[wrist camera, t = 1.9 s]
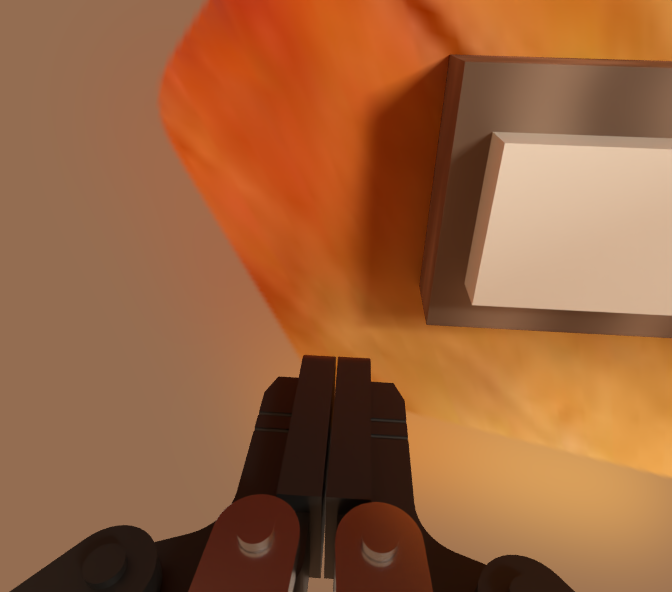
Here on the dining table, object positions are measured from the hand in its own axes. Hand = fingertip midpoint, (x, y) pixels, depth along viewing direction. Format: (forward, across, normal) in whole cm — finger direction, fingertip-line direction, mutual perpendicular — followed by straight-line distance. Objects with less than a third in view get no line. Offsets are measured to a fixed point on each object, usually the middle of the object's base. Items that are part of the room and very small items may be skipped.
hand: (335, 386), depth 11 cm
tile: (+12, -10, 0) cm, 16 cm away
